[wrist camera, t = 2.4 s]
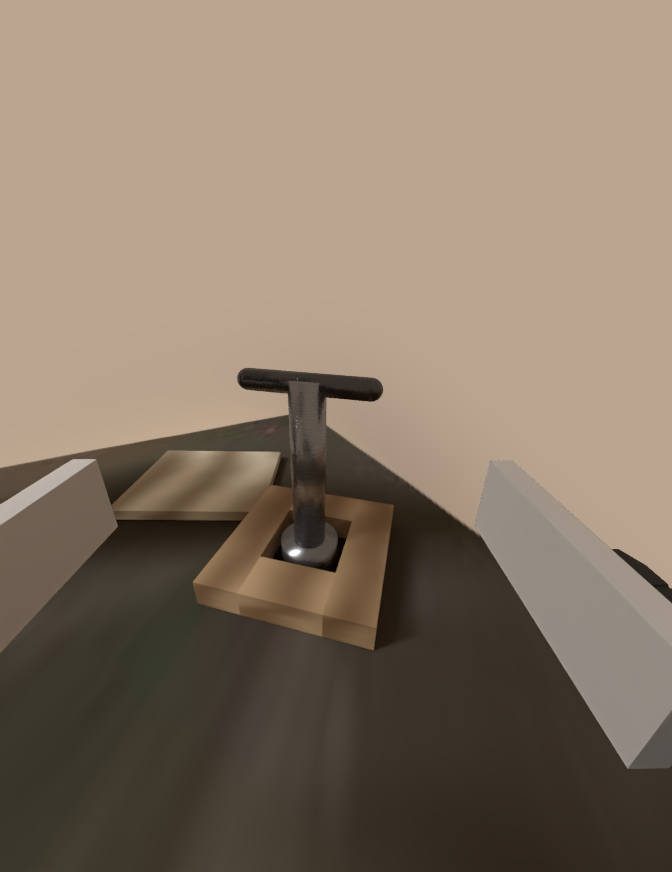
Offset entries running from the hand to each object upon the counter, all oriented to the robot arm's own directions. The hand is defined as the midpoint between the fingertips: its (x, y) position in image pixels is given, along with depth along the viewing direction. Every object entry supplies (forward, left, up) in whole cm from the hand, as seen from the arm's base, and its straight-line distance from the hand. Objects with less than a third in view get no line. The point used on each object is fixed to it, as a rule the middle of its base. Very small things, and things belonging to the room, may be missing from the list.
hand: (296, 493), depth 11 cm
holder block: (-3, +10, -13) cm, 17 cm away
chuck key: (-3, +10, -13) cm, 17 cm away
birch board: (-17, +17, -13) cm, 27 cm away
